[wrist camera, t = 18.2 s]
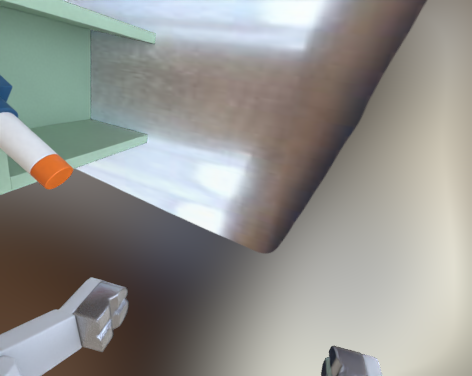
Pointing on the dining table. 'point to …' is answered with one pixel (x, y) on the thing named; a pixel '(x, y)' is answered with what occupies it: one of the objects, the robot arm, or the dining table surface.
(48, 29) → the stand
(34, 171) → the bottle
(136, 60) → the dining table surface
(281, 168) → the dining table surface
